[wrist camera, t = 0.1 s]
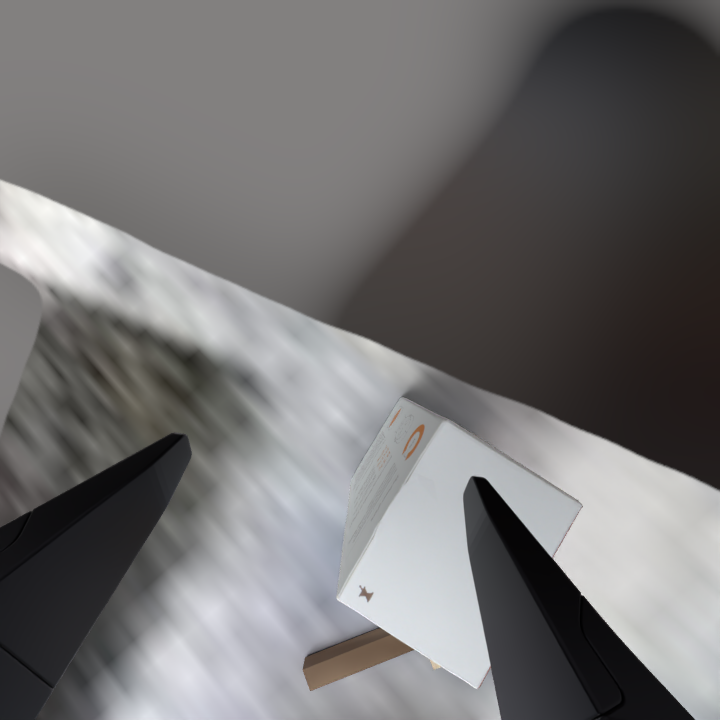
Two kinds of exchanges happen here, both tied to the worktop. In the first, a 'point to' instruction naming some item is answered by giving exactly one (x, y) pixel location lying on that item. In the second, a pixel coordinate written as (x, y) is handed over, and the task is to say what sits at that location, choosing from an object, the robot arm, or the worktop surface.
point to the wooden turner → (353, 657)
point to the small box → (433, 534)
